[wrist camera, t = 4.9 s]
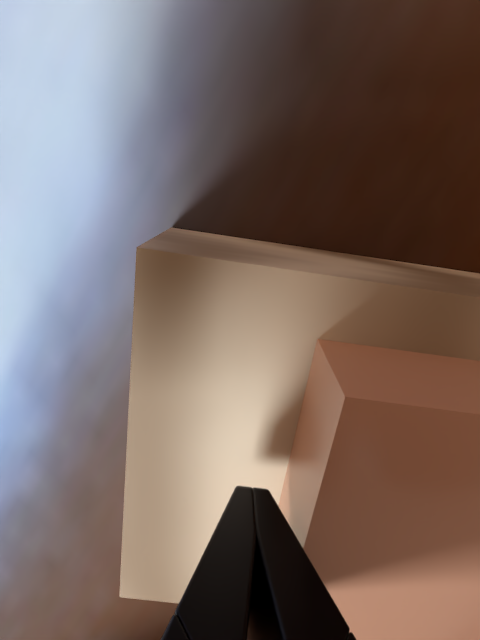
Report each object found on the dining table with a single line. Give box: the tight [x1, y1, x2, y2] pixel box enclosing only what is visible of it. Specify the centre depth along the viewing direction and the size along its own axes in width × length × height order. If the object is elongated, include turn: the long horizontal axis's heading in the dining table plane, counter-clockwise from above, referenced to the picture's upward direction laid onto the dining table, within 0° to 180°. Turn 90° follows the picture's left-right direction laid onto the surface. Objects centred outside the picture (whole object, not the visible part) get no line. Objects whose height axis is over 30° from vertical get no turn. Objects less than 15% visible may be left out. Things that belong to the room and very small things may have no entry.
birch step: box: [119, 228, 480, 603], centre depth 12 cm, size 14×11×4 cm
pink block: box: [278, 339, 480, 640], centre depth 9 cm, size 8×8×2 cm
